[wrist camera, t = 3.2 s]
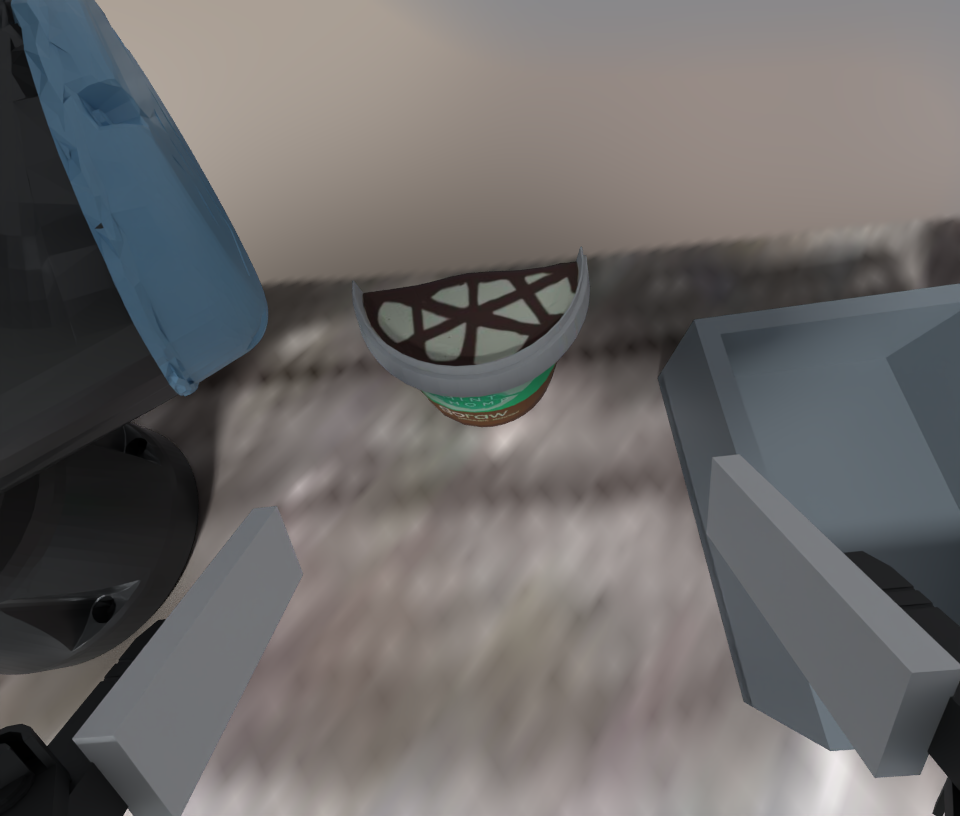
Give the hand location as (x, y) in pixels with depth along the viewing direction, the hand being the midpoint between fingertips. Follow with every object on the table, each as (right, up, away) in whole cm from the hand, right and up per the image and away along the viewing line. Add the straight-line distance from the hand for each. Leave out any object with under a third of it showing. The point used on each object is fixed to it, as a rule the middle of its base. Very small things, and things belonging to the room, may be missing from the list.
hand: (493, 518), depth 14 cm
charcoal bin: (+19, -2, +12) cm, 22 cm away
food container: (0, +4, +16) cm, 17 cm away
